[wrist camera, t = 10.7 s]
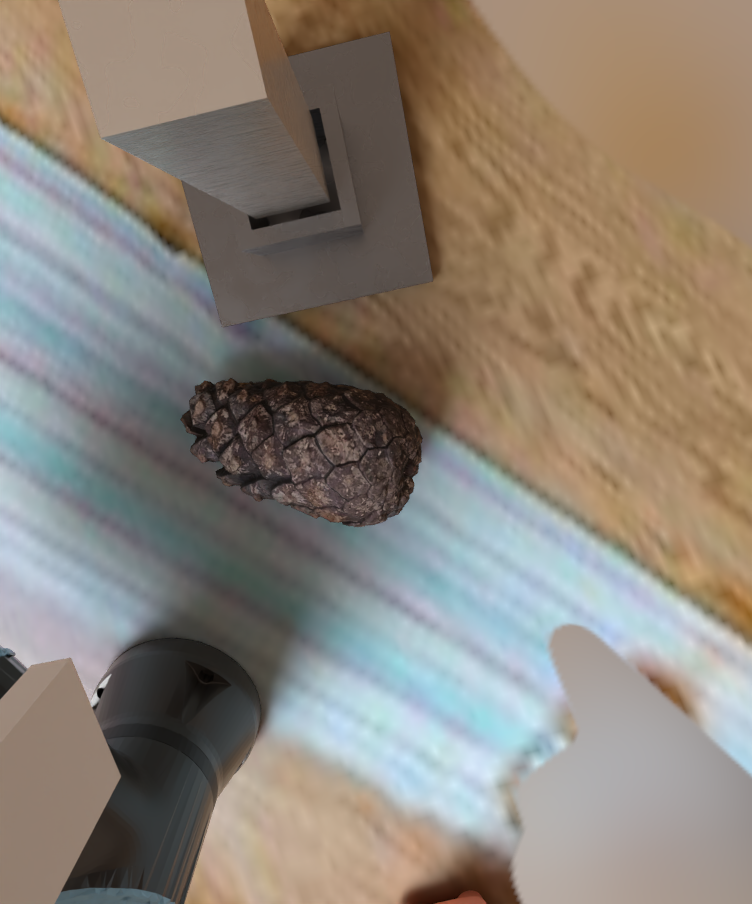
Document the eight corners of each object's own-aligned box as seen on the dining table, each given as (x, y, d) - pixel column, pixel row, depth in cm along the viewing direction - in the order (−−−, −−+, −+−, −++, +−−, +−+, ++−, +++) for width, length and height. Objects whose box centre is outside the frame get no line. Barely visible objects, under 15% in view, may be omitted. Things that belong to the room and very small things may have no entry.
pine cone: (199, 362, 46) (150, 383, 36) (424, 380, 46) (436, 406, 36) (199, 486, 48) (154, 536, 39) (411, 503, 49) (419, 557, 39)
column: (256, 219, 34) (100, 137, 15) (232, 123, 33) (27, -101, 14) (330, 202, 34) (267, 98, 15) (309, 104, 33) (209, -151, 13)
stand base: (227, 325, 45) (122, 355, 26) (163, 96, 40) (-15, -59, 22) (431, 281, 44) (468, 280, 25) (389, 40, 39) (397, -169, 21)
